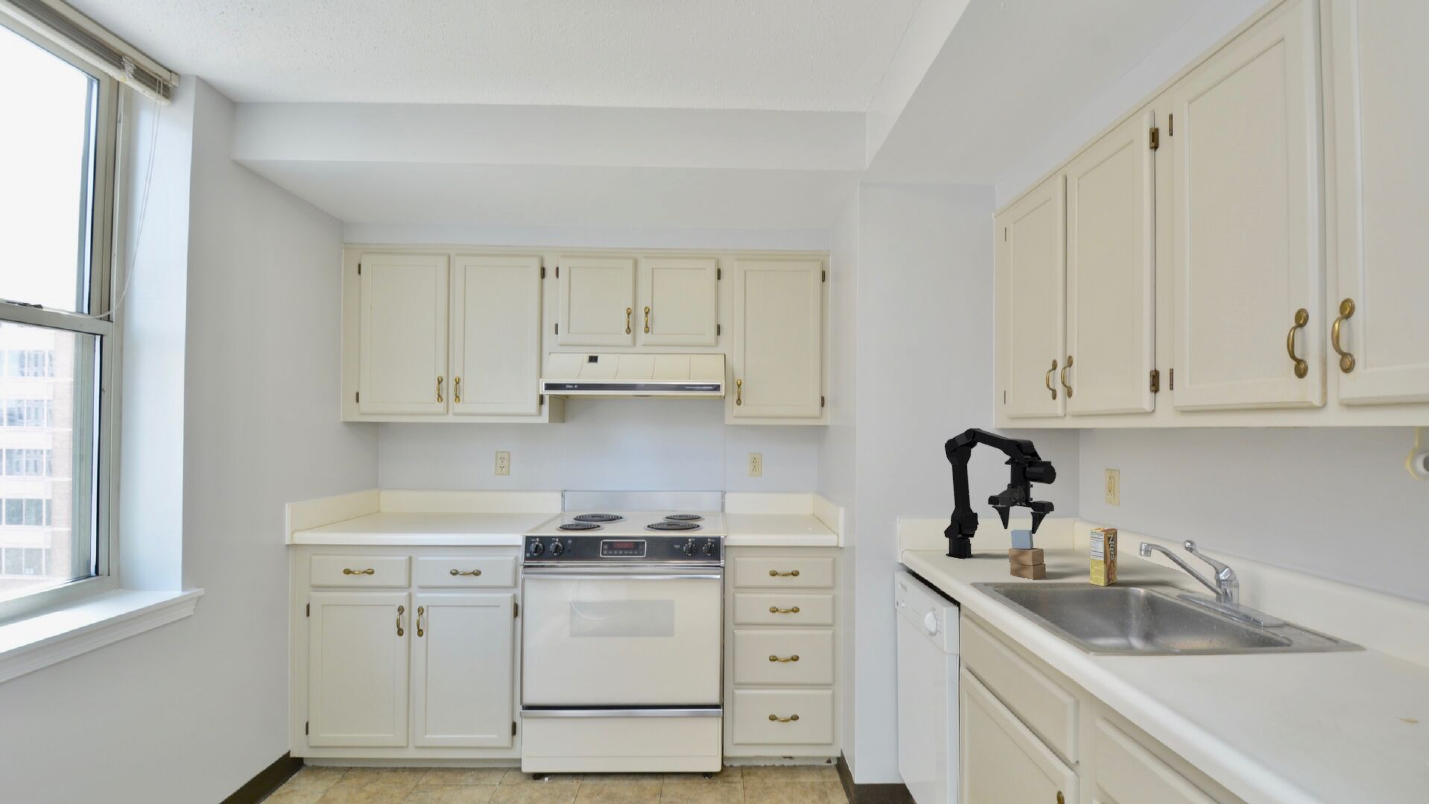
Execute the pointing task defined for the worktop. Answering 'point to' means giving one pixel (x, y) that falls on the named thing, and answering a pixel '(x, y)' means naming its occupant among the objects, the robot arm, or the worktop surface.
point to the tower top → (1026, 556)
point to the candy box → (1103, 556)
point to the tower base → (1028, 570)
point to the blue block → (1022, 539)
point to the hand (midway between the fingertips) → (1019, 531)
